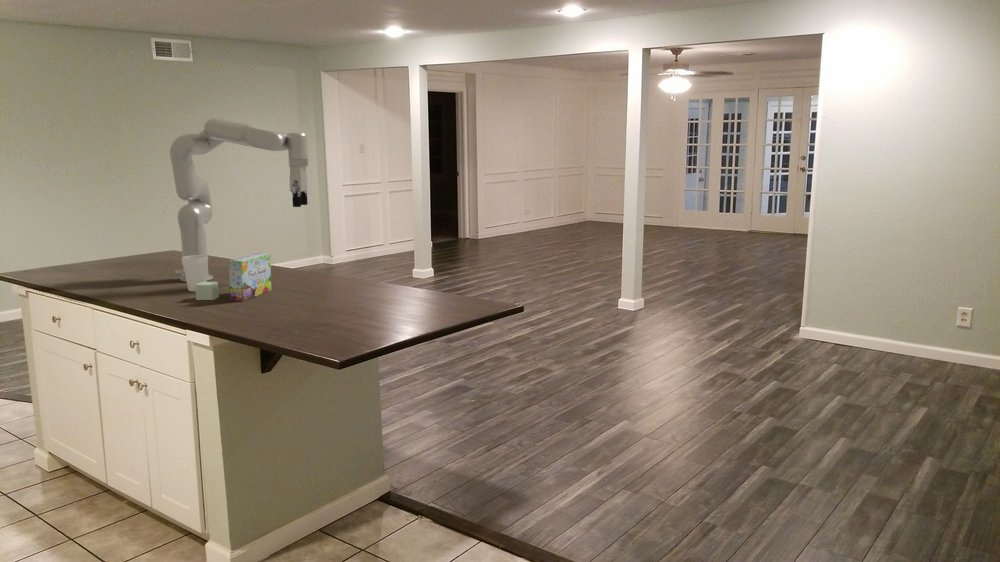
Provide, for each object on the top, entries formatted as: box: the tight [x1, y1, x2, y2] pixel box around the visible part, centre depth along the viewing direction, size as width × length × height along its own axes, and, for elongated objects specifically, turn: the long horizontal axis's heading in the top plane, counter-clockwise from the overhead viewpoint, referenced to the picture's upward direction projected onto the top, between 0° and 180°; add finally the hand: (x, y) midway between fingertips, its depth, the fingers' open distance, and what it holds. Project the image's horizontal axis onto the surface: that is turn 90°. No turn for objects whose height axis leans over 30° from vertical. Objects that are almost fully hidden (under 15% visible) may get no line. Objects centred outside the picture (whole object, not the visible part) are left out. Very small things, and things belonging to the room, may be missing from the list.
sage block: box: [194, 281, 220, 301], centre depth 273 cm, size 6×6×6 cm
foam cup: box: [181, 255, 209, 292], centre depth 290 cm, size 10×9×13 cm
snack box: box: [228, 252, 272, 302], centre depth 279 cm, size 21×6×15 cm, turn 168°
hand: (300, 205), depth 305 cm, fingers open, 9 cm apart
